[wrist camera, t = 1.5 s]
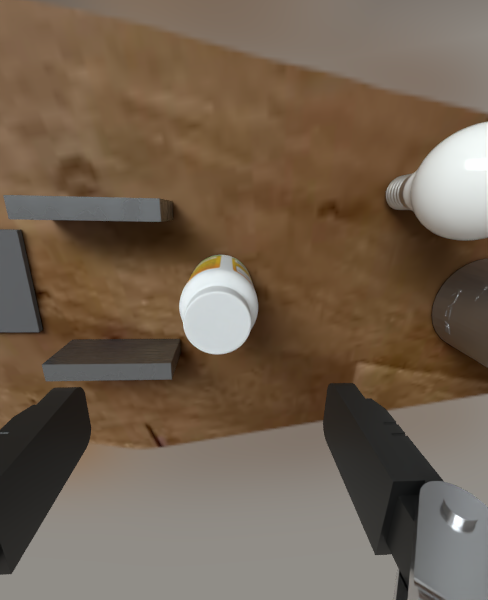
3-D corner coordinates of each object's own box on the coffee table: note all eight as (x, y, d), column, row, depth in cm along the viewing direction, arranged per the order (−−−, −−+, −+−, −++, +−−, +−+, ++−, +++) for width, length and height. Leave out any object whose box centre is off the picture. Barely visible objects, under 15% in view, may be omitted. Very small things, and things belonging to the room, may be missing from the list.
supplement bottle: (187, 305, 26) (164, 358, 16) (196, 248, 24) (177, 270, 15) (243, 316, 26) (252, 372, 17) (256, 260, 25) (273, 290, 16)
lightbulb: (423, 233, 25) (566, 248, 14) (354, 230, 24) (449, 244, 14) (442, 154, 23) (621, 105, 12) (367, 149, 23) (488, 95, 12)
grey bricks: (172, 201, 23) (159, 198, 19) (180, 352, 27) (171, 379, 23) (46, 198, 22) (3, 195, 18) (75, 353, 27) (45, 381, 22)
